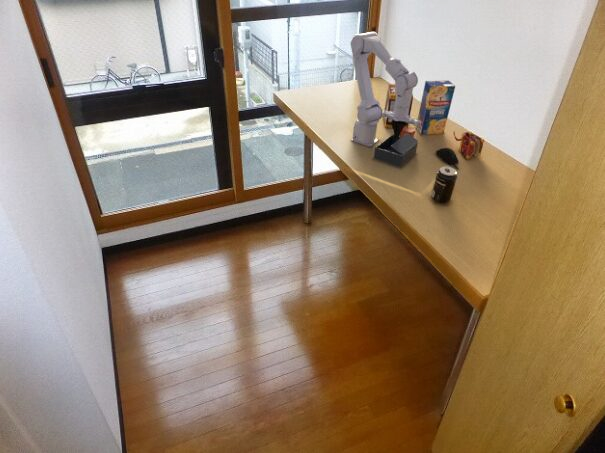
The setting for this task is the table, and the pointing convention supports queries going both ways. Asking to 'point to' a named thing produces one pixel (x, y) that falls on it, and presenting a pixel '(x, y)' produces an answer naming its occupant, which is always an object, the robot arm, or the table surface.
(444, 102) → the beverage box
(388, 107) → the supplement box
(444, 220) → the table surface
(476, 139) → the book monster
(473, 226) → the table surface
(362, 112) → the robot arm
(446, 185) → the beverage can
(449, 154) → the gaming mouse
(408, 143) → the flap
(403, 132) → the small box
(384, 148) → the storage box
